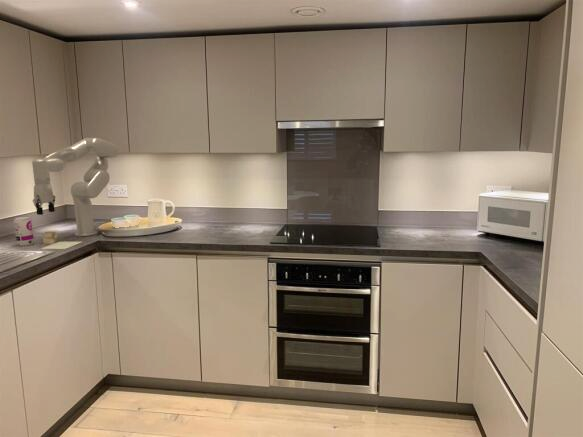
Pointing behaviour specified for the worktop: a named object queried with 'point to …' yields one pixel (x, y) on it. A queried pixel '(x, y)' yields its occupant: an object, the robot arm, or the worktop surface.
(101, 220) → the worktop surface
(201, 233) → the worktop surface
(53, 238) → the birch block
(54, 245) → the sage mat
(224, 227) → the worktop surface
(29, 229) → the supplement can
